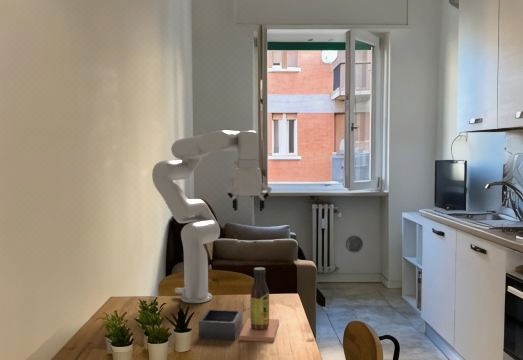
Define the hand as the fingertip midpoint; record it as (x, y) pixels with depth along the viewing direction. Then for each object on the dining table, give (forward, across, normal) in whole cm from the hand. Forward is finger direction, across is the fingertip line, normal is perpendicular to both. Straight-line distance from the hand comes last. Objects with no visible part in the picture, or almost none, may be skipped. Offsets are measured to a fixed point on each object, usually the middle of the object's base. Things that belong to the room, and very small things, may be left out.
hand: (248, 210), depth 178 cm
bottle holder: (+38, -6, -21) cm, 44 cm away
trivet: (+38, +7, -19) cm, 43 cm away
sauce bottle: (+37, +7, -19) cm, 42 cm away
